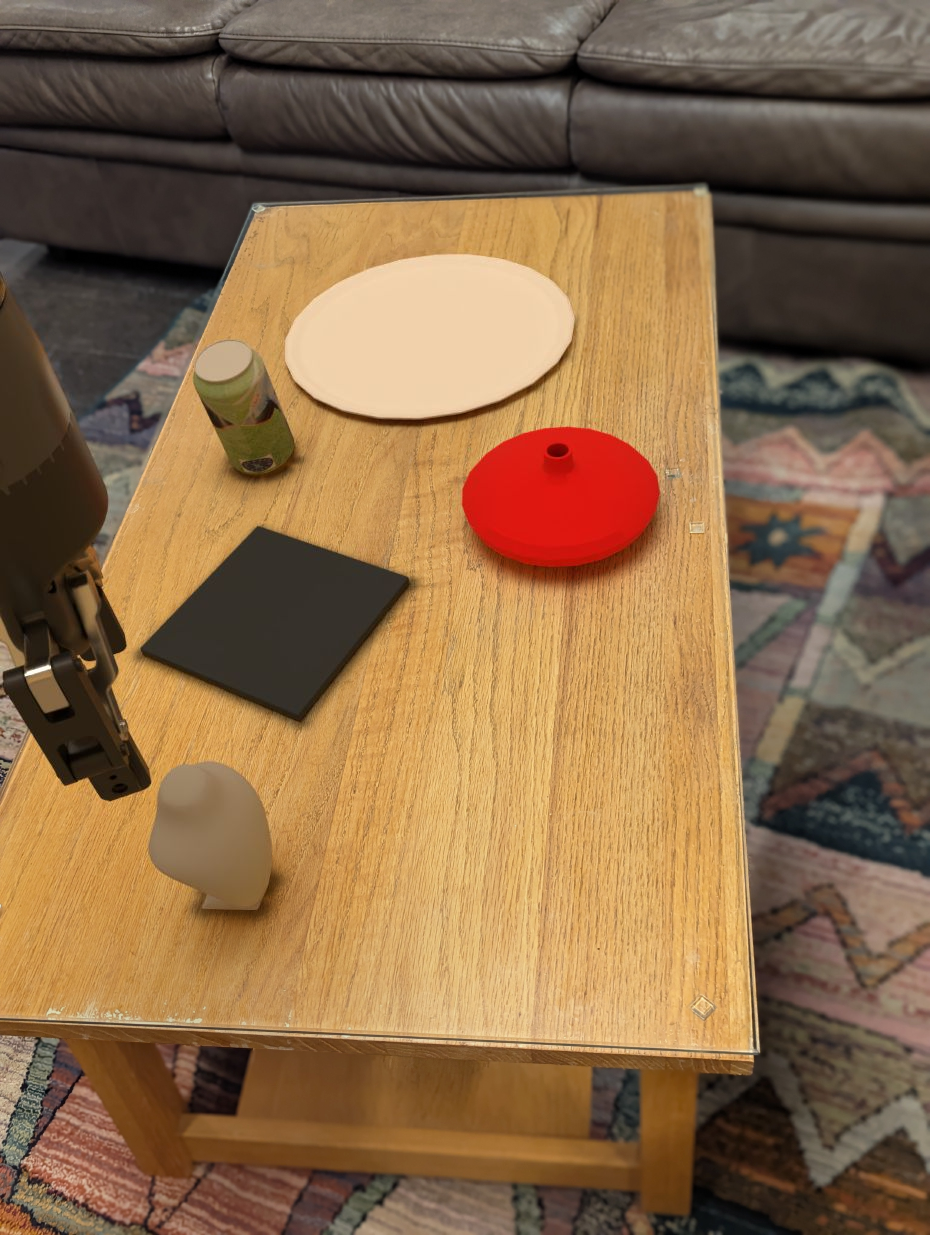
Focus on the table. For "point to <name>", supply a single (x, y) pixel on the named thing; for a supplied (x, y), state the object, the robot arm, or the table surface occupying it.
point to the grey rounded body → (213, 835)
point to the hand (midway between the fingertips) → (116, 716)
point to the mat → (276, 621)
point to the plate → (429, 336)
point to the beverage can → (243, 406)
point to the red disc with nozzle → (560, 496)
